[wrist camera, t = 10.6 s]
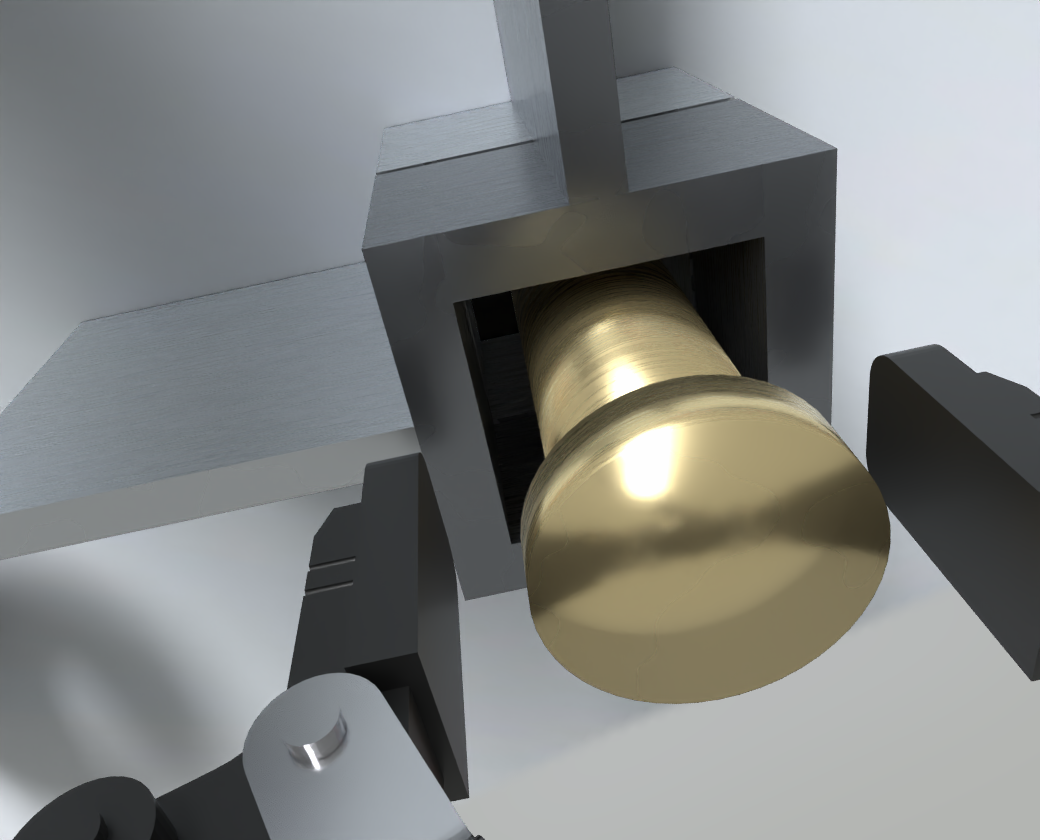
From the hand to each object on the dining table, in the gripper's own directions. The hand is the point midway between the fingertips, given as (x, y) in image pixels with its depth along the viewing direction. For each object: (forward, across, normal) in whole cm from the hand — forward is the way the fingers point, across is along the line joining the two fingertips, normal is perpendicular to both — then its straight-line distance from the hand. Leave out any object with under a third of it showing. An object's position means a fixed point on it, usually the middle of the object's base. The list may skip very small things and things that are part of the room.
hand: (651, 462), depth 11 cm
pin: (+10, 0, 0) cm, 10 cm away
